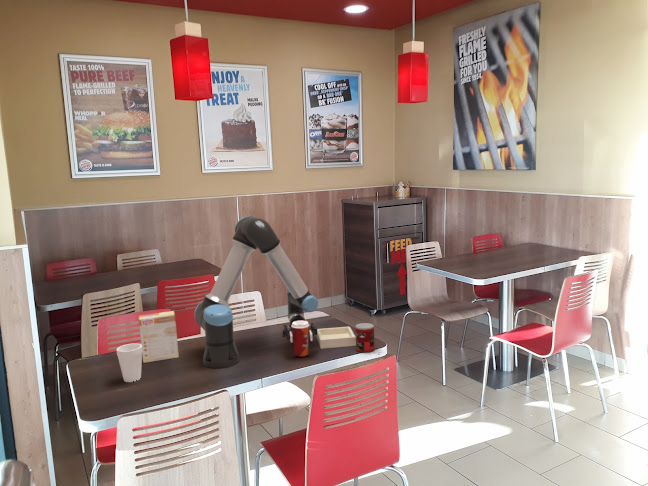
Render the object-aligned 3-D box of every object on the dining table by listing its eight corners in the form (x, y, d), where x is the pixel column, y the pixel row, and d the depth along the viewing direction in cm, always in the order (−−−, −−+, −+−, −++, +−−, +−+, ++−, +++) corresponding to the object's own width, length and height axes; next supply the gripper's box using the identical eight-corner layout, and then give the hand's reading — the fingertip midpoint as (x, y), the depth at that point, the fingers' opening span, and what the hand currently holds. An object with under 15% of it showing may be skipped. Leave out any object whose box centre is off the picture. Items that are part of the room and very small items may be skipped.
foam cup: (136, 372, 215) (133, 341, 213) (149, 377, 209) (146, 346, 207) (115, 380, 208) (111, 348, 206) (127, 385, 202) (124, 353, 200)
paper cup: (310, 357, 222) (308, 325, 220) (291, 357, 222) (290, 325, 220) (310, 350, 230) (309, 319, 228) (293, 351, 230) (291, 320, 228)
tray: (320, 348, 234) (320, 340, 233) (316, 337, 250) (316, 329, 249) (356, 345, 236) (355, 337, 235) (350, 334, 252) (349, 326, 251)
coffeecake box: (177, 352, 237) (174, 310, 234) (179, 357, 230) (175, 314, 227) (142, 357, 232) (138, 314, 229) (143, 363, 225) (138, 319, 222)
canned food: (353, 348, 233) (352, 324, 231) (370, 345, 235) (369, 322, 234) (359, 354, 226) (359, 329, 224) (377, 351, 228) (376, 326, 226)
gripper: (320, 329, 244) (326, 345, 222) (275, 332, 242) (277, 349, 219) (319, 313, 243) (325, 328, 221) (274, 316, 241) (276, 331, 218)
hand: (301, 338), depth 220 cm, fingers closed on paper cup, 8 cm apart
